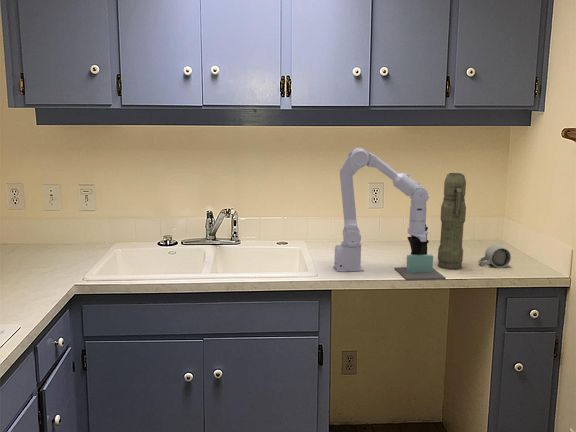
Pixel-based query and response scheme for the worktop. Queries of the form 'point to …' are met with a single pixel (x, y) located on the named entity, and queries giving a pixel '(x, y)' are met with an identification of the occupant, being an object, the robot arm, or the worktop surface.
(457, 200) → the thermos
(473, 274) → the worktop surface
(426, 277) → the mat
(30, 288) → the worktop surface
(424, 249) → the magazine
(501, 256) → the ceramic mug
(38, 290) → the worktop surface
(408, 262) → the card box
